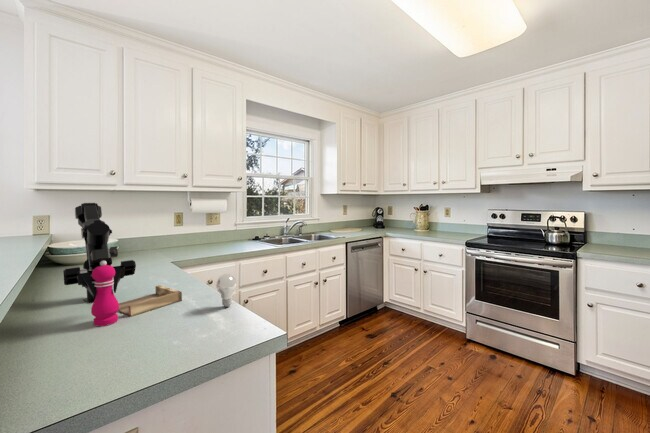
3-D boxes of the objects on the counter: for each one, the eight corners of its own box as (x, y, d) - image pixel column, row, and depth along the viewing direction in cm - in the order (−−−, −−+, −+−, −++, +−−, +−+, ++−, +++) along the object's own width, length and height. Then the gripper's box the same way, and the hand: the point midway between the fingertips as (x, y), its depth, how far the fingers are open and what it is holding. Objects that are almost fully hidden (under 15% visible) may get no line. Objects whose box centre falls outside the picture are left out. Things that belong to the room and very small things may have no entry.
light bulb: (219, 303, 113) (218, 272, 112) (238, 303, 113) (237, 271, 112) (214, 311, 106) (213, 277, 105) (234, 310, 106) (233, 276, 105)
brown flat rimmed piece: (109, 307, 110) (109, 297, 110) (159, 293, 125) (159, 285, 125) (131, 316, 101) (130, 306, 101) (182, 300, 116) (181, 291, 116)
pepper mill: (105, 328, 93) (102, 263, 91) (85, 326, 94) (82, 262, 93) (125, 318, 100) (122, 258, 98) (106, 316, 101) (104, 257, 100)
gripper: (61, 242, 92) (64, 286, 84) (133, 236, 104) (141, 274, 97) (62, 263, 98) (66, 306, 91) (130, 255, 110) (138, 292, 103)
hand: (104, 294), depth 95 cm, fingers closed on pepper mill, 5 cm apart
